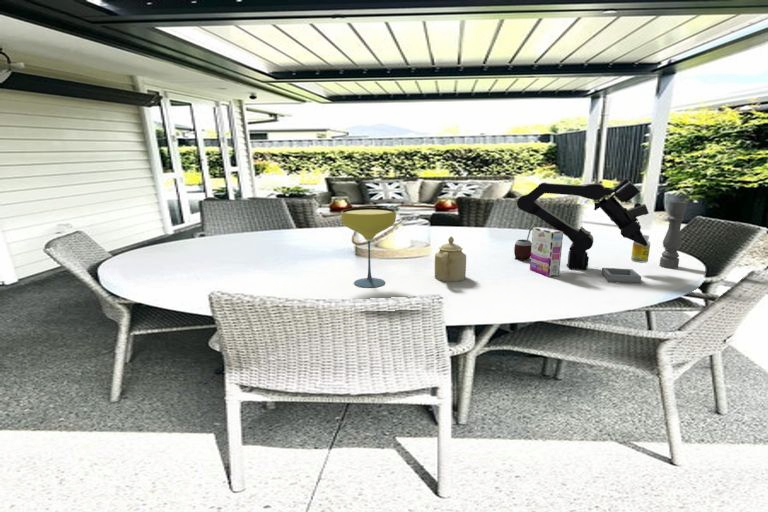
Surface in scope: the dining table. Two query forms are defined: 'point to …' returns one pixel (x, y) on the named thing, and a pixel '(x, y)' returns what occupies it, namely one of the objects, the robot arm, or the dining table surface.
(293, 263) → the dining table surface
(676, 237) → the candle holder
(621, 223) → the robot arm
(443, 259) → the sugar bowl
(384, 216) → the cocktail glass
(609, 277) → the tray
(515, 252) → the mate gourd
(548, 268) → the candy bar box
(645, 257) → the supplement bottle
